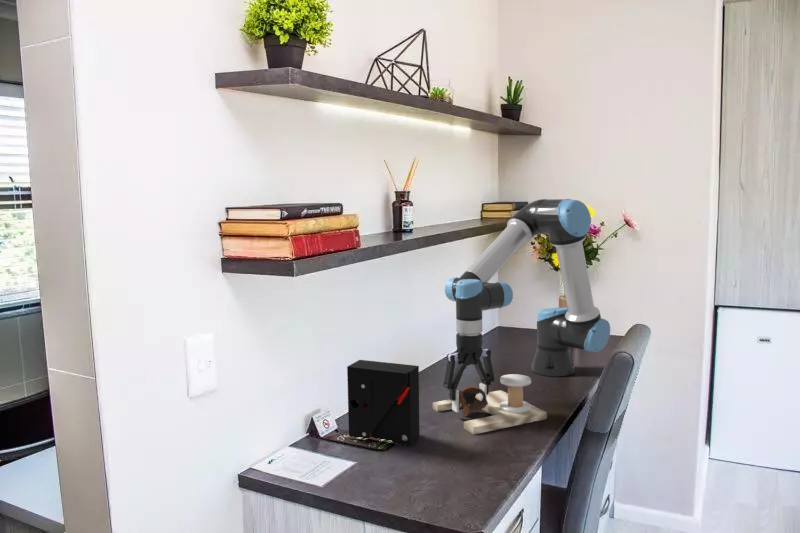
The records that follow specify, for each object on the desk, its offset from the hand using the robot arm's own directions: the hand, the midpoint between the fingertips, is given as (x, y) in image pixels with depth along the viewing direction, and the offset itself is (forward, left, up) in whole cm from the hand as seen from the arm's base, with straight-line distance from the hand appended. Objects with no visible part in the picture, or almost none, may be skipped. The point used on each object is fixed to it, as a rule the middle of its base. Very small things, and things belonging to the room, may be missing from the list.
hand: (469, 408), depth 185 cm
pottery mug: (+1, 0, -1) cm, 1 cm away
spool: (-12, +6, 0) cm, 14 cm away
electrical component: (+29, +3, -3) cm, 29 cm away
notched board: (-5, +1, -2) cm, 6 cm away
